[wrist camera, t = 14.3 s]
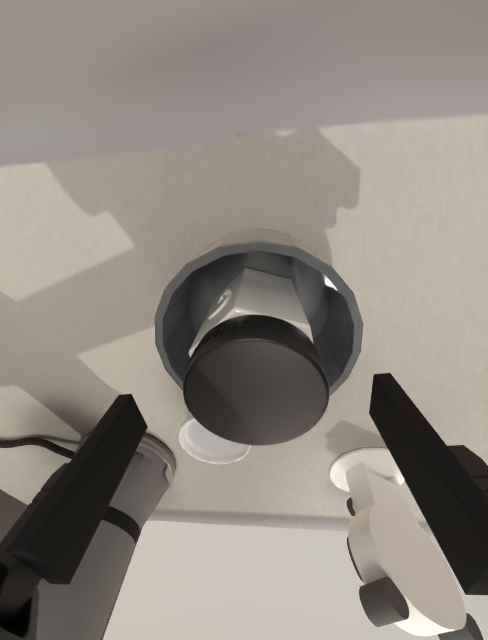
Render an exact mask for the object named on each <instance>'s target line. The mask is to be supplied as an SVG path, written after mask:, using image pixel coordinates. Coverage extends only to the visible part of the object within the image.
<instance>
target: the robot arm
mask: <svg viewBox="0 0 488 640" xmlns="http://www.w3.org/2000/svg"><path fill="white" fill-rule="evenodd" d="M369 414H370V416H371V418H372V419H373V421H374V423H375V425H376V427H377V429H378V431H379V433H380V435H381V436H382V438H383V440H384V442H385V444H386V446H387V448H388V450H389V451H390V453H391V455H392V457H393V459H394V461H395V463H396V465H397V466H398V468H399V470H400V472H401V474H402V476H403V478H404V480H405V482H406V483H407V485H408V487H409V489H410V491H411V493H412V495H413V497H414V498H415V500H416V502H417V504H418V506H419V508H420V510H421V512H422V514H423V515H424V517H425V519H426V521H427V523H428V525H429V527H430V529H431V530H432V532H433V534H434V536H435V538H436V540H437V542H438V543H439V545H440V547H441V549H442V551H443V553H444V555H445V557H446V559H447V560H448V562H449V564H450V566H451V568H452V570H453V572H454V574H455V576H456V577H457V579H458V581H459V583H460V585H461V587H462V589H463V591H464V592H465V594H466V595H488V466H487V464H486V463H485V462H484V461H483V460H482V459H481V458H480V457H479V456H477V455H476V454H475V453H473V452H472V451H470V450H469V449H468V448H466V447H465V446H464V445H456V446H447V445H446V444H445V443H444V441H443V440H442V439H441V438H440V436H439V435H438V434H437V433H436V431H435V430H434V429H433V427H432V426H431V425H430V424H429V422H428V421H427V420H426V418H425V417H424V416H423V415H422V413H421V412H420V411H419V409H418V408H417V407H416V406H415V404H414V403H413V402H412V401H411V399H410V398H409V397H408V395H407V394H406V393H405V392H404V390H403V389H402V388H401V386H400V385H399V384H398V383H397V381H396V380H395V379H394V378H393V376H392V375H391V374H390V373H385V374H374V377H373V386H372V394H371V402H370V411H369ZM146 429H147V425H146V423H145V421H144V419H143V417H142V415H141V413H140V411H139V409H138V407H137V405H136V402H135V400H134V398H133V396H132V394H125V395H118V397H117V398H116V400H115V401H114V402H113V404H112V405H111V406H110V408H109V409H108V411H107V412H106V413H105V415H104V416H103V417H102V419H101V420H100V421H99V423H98V424H97V426H96V427H95V428H94V430H93V431H92V432H91V433H89V434H88V435H87V436H86V437H85V438H84V440H83V441H82V442H81V444H80V445H79V446H78V448H77V449H76V451H75V452H73V451H71V450H68V449H65V448H63V447H60V446H58V445H56V444H54V443H52V442H50V441H48V440H45V439H40V438H27V439H21V440H16V441H0V448H11V447H18V446H23V445H38V446H42V447H45V448H47V449H49V450H51V451H53V452H55V453H57V454H60V455H62V456H65V457H68V458H70V459H72V460H71V461H70V463H64V464H63V465H62V466H61V467H60V468H59V469H58V470H57V471H56V472H54V473H53V474H52V475H51V477H50V478H49V479H48V480H47V482H46V483H45V484H44V486H43V487H42V488H41V491H40V492H38V494H37V495H36V496H35V497H34V499H33V500H32V503H30V504H29V505H26V504H25V503H23V502H21V501H19V500H18V499H16V498H14V497H12V496H11V495H9V494H7V493H6V492H4V491H2V490H0V640H102V639H103V637H104V634H105V631H106V628H107V625H108V623H109V620H110V617H111V614H112V611H113V609H114V606H115V603H116V600H117V597H118V595H119V592H120V589H121V586H122V583H123V580H124V577H125V575H126V572H127V569H128V566H129V564H130V561H131V558H132V555H133V552H134V549H135V546H136V543H137V541H138V538H139V536H140V533H141V530H142V527H143V526H144V524H145V522H146V521H147V519H148V518H149V516H150V515H151V513H152V512H153V510H154V509H155V507H156V505H157V504H158V502H159V501H160V499H161V498H162V496H163V494H164V493H165V491H166V490H167V489H168V487H169V485H170V486H171V483H172V480H173V475H174V472H175V469H176V463H175V459H174V457H173V455H172V454H171V452H170V451H169V450H168V449H167V448H166V447H165V446H164V445H163V444H162V443H161V442H159V441H158V440H156V439H155V438H153V437H151V436H149V435H147V434H145V431H146Z"/></svg>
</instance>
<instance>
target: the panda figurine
mask: <svg viewBox="0 0 488 640" xmlns="http://www.w3.org/2000/svg"><path fill="white" fill-rule="evenodd" d="M330 478H331V480H332V482H333V483H334V484H335V485H336V486H337V487H339V488H340V489H342V490H344V491H347V492H350V495H351V497H350V498H349V499H348V500H347V507H348V510H349V512H350V514H351V515H352V516H354V517H353V518H352V519H351V521H350V524H349V530H348V537H347V545H348V549H349V554H350V557H351V560H352V562H353V565H354V567H355V570H356V572H357V574H358V576H359V578H360V579H361V580H362V581H363V582H364V583H365V585H363V586H361V587H360V589H359V595H360V600H361V603H362V606H363V608H364V611H365V613H366V615H367V617H368V618H369V619H370V621H371V622H372V623H373V624H374V625H375V626H377V627H380V626H384V625H387V624H391V623H394V624H396V625H397V626H398V627H400V628H401V629H403V630H405V631H407V632H409V633H411V634H413V635H417V636H431V635H436V634H438V636H439V638H440V640H483V637H482V635H481V632H480V629H479V627H478V625H477V624H476V622H475V620H474V619H473V617H472V616H471V615H470V614H468V613H466V610H465V606H464V603H463V600H462V597H461V594H460V592H459V589H458V586H457V584H456V582H455V579H454V577H453V575H452V573H451V571H450V569H449V567H448V565H447V563H446V561H445V559H444V558H443V556H442V554H441V553H440V551H439V550H438V548H437V547H436V545H435V544H434V542H433V541H432V540H431V539H430V537H429V536H428V535H427V533H426V532H425V531H424V530H423V529H422V528H421V527H420V526H419V524H418V522H417V520H416V518H415V516H414V514H413V512H412V510H411V508H410V506H409V504H408V501H407V499H406V497H405V495H404V493H403V491H402V489H401V486H400V484H401V483H403V482H404V481H405V480H404V478H403V476H402V474H401V472H400V470H399V468H398V466H397V465H396V463H395V461H394V459H393V457H392V455H391V453H390V451H389V450H388V449H385V448H362V449H357V450H353V451H350V452H348V453H345V454H344V455H342V456H340V457H339V458H337V459H336V460H335V461H334V462H333V464H332V465H331V467H330ZM352 505H353V506H352ZM353 507H354V509H353Z"/></svg>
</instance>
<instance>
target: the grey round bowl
mask: <svg viewBox="0 0 488 640" xmlns="http://www.w3.org/2000/svg"><path fill="white" fill-rule="evenodd" d="M244 268H249V269H253V270H257V271H261V272H265V273H268V274H272V275H276V276H280V277H284V278H288V279H291V280H292V282H293V284H294V287H295V289H296V292H297V294H298V297H299V299H300V302H301V304H302V307H303V309H304V312H305V314H306V317H307V320H308V322H309V325H310V327H311V332H312V337H313V343H314V346H315V348H316V350H317V352H318V355H319V358H320V360H321V363H322V366H323V368H324V371H325V374H326V376H327V379H328V383H329V397H330V396H331V395H332V394H333V393H334V392H335V391H336V390H337V389H338V388H339V387H340V386H341V385H342V384H343V382H344V381H345V380H346V379H347V378H348V377H349V375H350V373H351V371H352V369H353V367H354V365H355V363H356V361H357V359H358V357H359V355H360V352H361V344H362V332H363V321H362V318H361V315H360V311H359V308H358V305H357V302H356V299H355V296H354V293H353V292H352V290H351V289H350V288H349V287H348V286H347V284H346V283H345V282H344V281H343V279H342V278H341V277H340V276H339V275H338V273H337V272H336V271H335V270H334V269H333V267H332V266H331V265H329V264H328V263H327V262H326V261H325V260H324V259H323V258H322V257H321V256H320V255H318V254H317V253H316V252H315V251H314V250H313V249H312V248H311V247H309V246H308V245H306V244H304V243H302V242H301V241H300V240H298V239H296V238H294V237H292V236H290V235H288V234H286V233H281V232H278V231H273V230H264V229H253V230H244V231H240V232H235V233H231V234H229V235H227V236H225V237H223V238H222V239H220V240H218V241H216V242H214V243H213V244H211V245H209V246H208V247H206V248H205V249H204V250H203V251H202V252H200V253H199V254H198V255H197V256H196V257H194V258H193V259H192V260H191V261H190V262H188V263H187V264H186V265H185V266H184V267H183V268H182V270H181V271H180V272H179V273H178V274H177V275H176V276H175V277H174V279H173V280H172V281H171V282H170V283H169V284H168V285H167V287H166V288H165V290H164V292H163V295H162V298H161V301H160V303H159V306H158V309H157V312H156V314H155V344H156V347H157V349H158V352H159V355H160V357H161V360H162V362H163V365H164V367H165V369H166V371H167V372H168V373H169V374H170V376H171V377H172V378H173V379H174V381H175V382H176V383H177V384H178V386H179V387H180V388H181V389H182V390H183V381H184V376H185V373H186V370H187V367H188V363H189V360H190V356H189V350H190V348H191V346H192V344H193V342H194V340H195V338H196V336H197V334H198V332H199V330H200V327H201V325H202V323H203V321H204V319H205V317H206V315H207V313H208V311H209V309H210V307H211V305H212V303H213V301H214V299H215V298H216V297H217V296H218V295H219V294H220V293H221V292H222V291H223V290H224V288H225V287H226V286H227V285H228V284H229V283H230V282H231V281H232V280H233V279H234V278H235V277H236V276H237V275H238V274H239V273H240V272H241V271H242V270H243V269H244Z"/></svg>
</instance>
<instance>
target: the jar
mask: <svg viewBox="0 0 488 640" xmlns="http://www.w3.org/2000/svg"><path fill="white" fill-rule="evenodd" d="M189 356H190V360H189V363H188V367H187V370H186V373H185V376H184V381H183V395H184V399H185V402H186V405H187V407H188V409H189V411H190V413H191V414H192V416H193V417H194V418H195V419H196V420H197V421H198V422H199V423H200V424H201V425H202V426H203V427H204V428H205V429H207V430H208V431H210V432H211V433H213V434H215V435H217V436H219V437H221V438H223V439H226V440H229V441H232V442H235V443H240V444H246V445H273V444H279V443H283V442H287V441H290V440H292V439H295V438H297V437H299V436H301V435H303V434H304V433H306V432H307V431H309V430H310V429H311V428H312V427H314V426H315V425H316V424H317V422H318V421H319V420H320V419H321V417H322V416H323V414H324V412H325V410H326V408H327V405H328V401H329V383H328V379H327V376H326V374H325V371H324V368H323V366H322V363H321V360H320V358H319V355H318V352H317V350H316V348H315V346H314V343H313V337H312V332H311V327H310V325H309V322H308V320H307V317H306V314H305V312H304V309H303V307H302V304H301V302H300V299H299V297H298V294H297V292H296V289H295V287H294V284H293V282H292V280H291V279H288V278H284V277H280V276H276V275H272V274H268V273H265V272H261V271H257V270H253V269H249V268H244V269H243V270H242V271H241V272H240V273H239V274H238V275H237V276H236V277H235V278H234V279H233V280H232V281H231V282H230V283H229V284H228V285H227V286H226V287H225V288H224V290H223V291H222V292H221V293H220V294H219V295H218V296H217V297H216V298H215V299H214V301H213V303H212V305H211V307H210V309H209V311H208V313H207V315H206V317H205V319H204V321H203V323H202V325H201V327H200V330H199V332H198V334H197V336H196V338H195V340H194V342H193V344H192V346H191V348H190V350H189Z"/></svg>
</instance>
